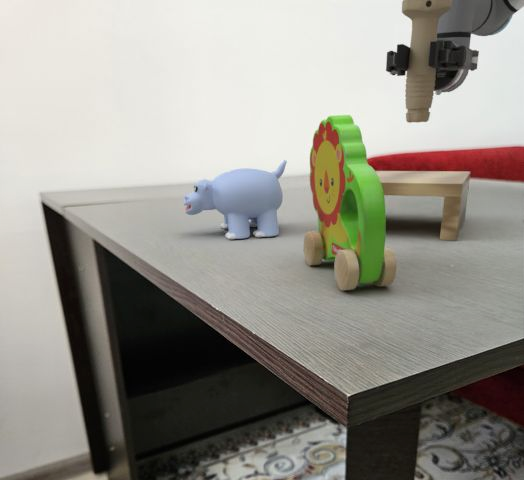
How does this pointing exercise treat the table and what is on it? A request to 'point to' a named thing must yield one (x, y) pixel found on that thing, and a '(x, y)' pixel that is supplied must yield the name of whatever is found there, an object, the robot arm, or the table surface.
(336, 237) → the toy lion
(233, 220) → the hippopotamus toy
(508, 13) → the robot arm
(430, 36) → the handle
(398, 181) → the shelf stand
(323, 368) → the table surface
